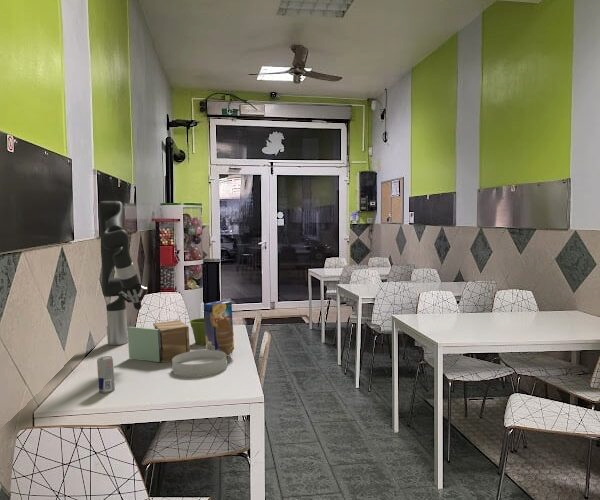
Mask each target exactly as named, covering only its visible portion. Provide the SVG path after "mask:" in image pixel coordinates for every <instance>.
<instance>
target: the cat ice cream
mask: <svg viewBox="0 0 600 500" xmlns="http://www.w3.org/2000/svg"><path fill="white" fill-rule="evenodd" d="M216 338H217V343H218V347H219V349H220V351H222V352H225V353H226V357H228V356H229V355H230V353H231V350H232V349H231V348H232V343H233V340H234V326H233V327H232V326H231V323H230V320H229V319H228V318H226V317H225V316H224V315H223V316H222V318H220V319H219V320H218V322H217V327H216Z"/></svg>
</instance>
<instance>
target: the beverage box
mask: <svg viewBox="0 0 600 500" xmlns="http://www.w3.org/2000/svg"><path fill="white" fill-rule="evenodd" d="M232 305H233V304H232V301H227V300H219V301H213V302H208V303H203V314H204V316H203V318H204V319H205V338H206V343H205V350H218V351H220V349H219V347H218V343H217V338H216V327H217V322H218V320H219V319H220V318H222V316H223V315H224V316H225V317H226V318H228V319H229V320H230V323H231V326H232V327H233V328H234V324H233V323H234V322H233V306H232ZM234 343H235V341H234V339H233V343H232V348H231V349H230V350H234V349H235V345H234Z"/></svg>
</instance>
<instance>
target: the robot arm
mask: <svg viewBox="0 0 600 500" xmlns="http://www.w3.org/2000/svg"><path fill="white" fill-rule="evenodd" d="M124 211H125V208H124V205H123V202H122V201H119V200H102V201H99V203H98V205H97V212H98V213H97V214H98V222H99V230H100V259H101V292H102V295H103V296H104V297H105V298H110V297H111V298H112V297H118V298H116V299H115V300H114V301H112V302H109V303H108V304H106V318H107V319H106V322H107V323H106V324H107V326H106V334H107V335H106V336H107V337H106V338H107V346H120V345H125V344H127V343H128V330H127V327H128V320H127V305H126V303H128V304H131V303H132V304H133V307H134V309H135V310H136V311H138V310H141V309H142V307H143V306H142V302H141V301H143V300H144V298H145V297H146V296H145V295H146V294H147V291H148V289H149V287H148V286H143V285H142V283H141V282H140V280H139V276H138V272H137V268H136V267H135V265H134V263H133V260H132V256H131V254H130V245H129V244H130V241H129V240H130V239H129V233H128V231H126V230H125V229H124V226H123V222H124V216H125V212H124ZM114 269H116V274H117V277H113V278H112V277H111V278H110V276H111V274H112V271H113V270H114ZM140 292H142V293H141V295H140Z"/></svg>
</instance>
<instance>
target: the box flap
mask: <svg viewBox="0 0 600 500" xmlns="http://www.w3.org/2000/svg"><path fill="white" fill-rule="evenodd" d="M127 333H128V342H127V343H128V359H133V360H134V359H135V360H141V361H147V362H156V363H157V362H158V363H163V362H162V353H161V336H160V329H155V328H147V327H136V326H127Z"/></svg>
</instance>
